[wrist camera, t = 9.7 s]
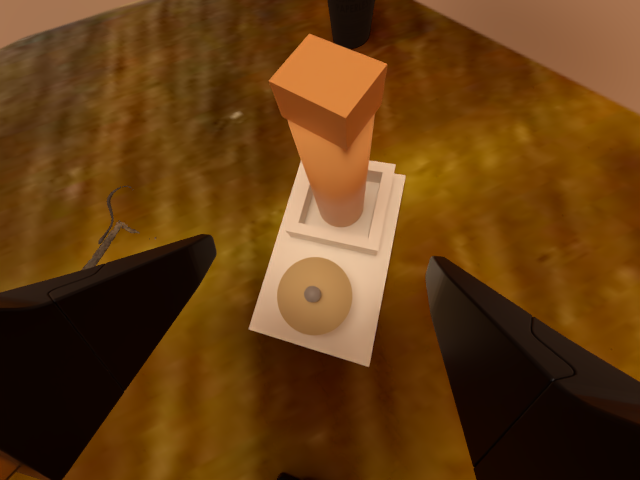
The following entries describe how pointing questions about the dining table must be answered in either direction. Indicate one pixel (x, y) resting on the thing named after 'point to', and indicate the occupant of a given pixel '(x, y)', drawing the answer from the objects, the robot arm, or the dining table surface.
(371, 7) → the drinking cup
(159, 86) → the dining table surface
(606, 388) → the robot arm
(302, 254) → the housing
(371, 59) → the orange square-topped peg
